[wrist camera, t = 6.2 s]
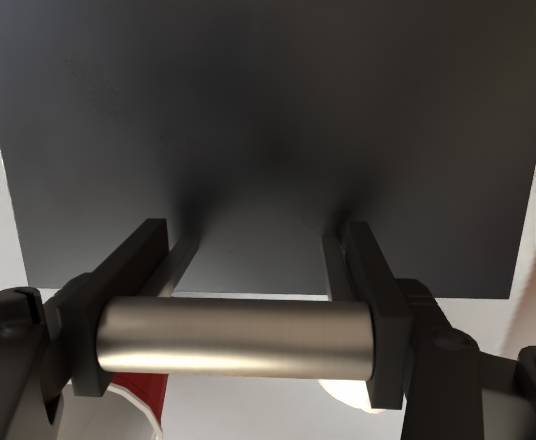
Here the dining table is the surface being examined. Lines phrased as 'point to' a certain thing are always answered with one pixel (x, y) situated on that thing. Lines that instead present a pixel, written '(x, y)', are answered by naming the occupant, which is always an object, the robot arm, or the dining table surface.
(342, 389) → the spinning top
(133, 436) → the plastic cup
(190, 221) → the grey box lid
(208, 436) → the dining table surface
